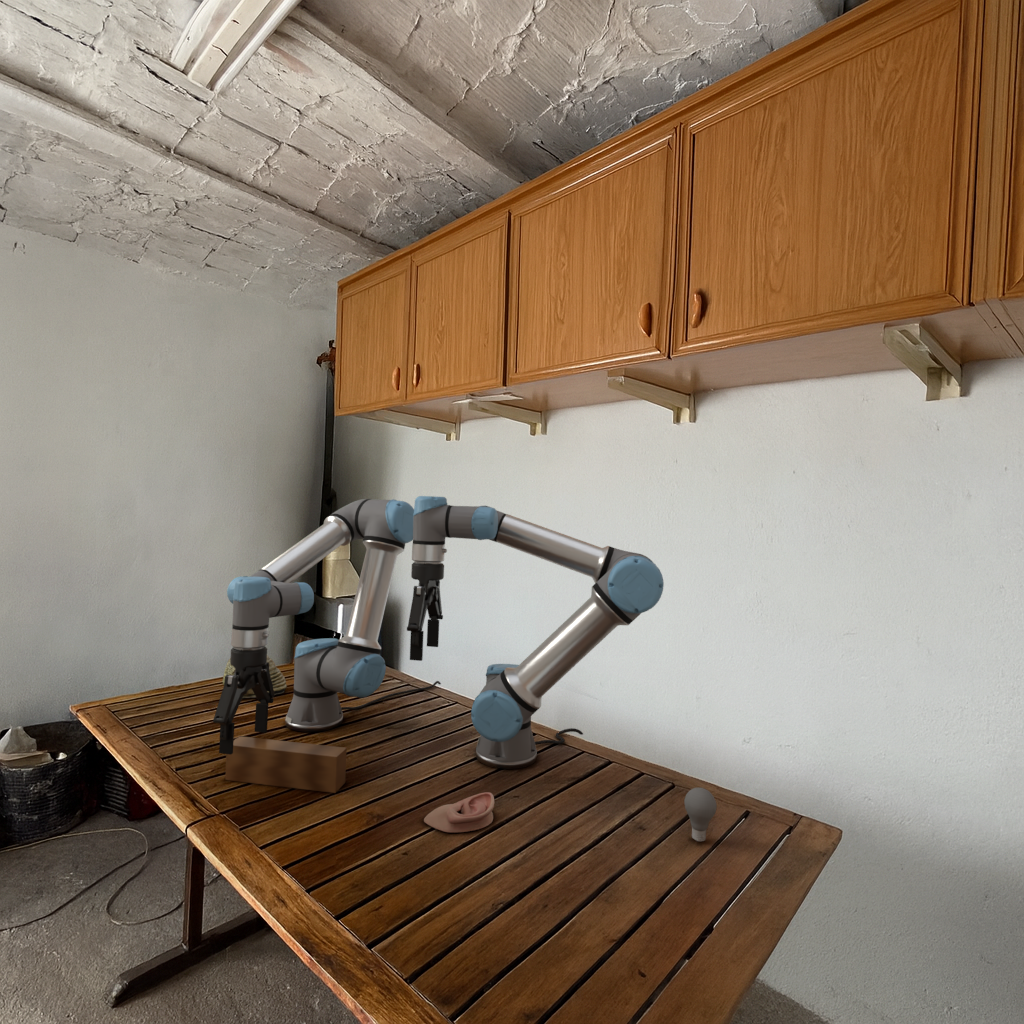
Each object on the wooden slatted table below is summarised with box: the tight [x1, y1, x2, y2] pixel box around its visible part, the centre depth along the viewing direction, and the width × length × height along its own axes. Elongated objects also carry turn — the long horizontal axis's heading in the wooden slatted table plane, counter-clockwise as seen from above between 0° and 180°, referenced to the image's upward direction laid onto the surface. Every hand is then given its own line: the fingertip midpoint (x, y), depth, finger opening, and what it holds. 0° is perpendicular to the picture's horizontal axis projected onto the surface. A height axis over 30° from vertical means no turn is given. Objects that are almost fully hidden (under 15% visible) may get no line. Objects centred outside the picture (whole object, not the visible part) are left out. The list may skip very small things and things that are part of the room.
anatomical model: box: [423, 791, 495, 834], centre depth 127 cm, size 13×4×12 cm
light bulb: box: [683, 787, 718, 842], centre depth 123 cm, size 6×6×10 cm
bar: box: [224, 736, 347, 794], centre depth 140 cm, size 26×5×8 cm, turn 81°
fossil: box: [222, 654, 288, 699], centre depth 198 cm, size 9×18×15 cm, turn 132°
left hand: (244, 742), depth 141 cm, fingers open, 13 cm apart
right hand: (424, 653), depth 148 cm, fingers open, 13 cm apart
